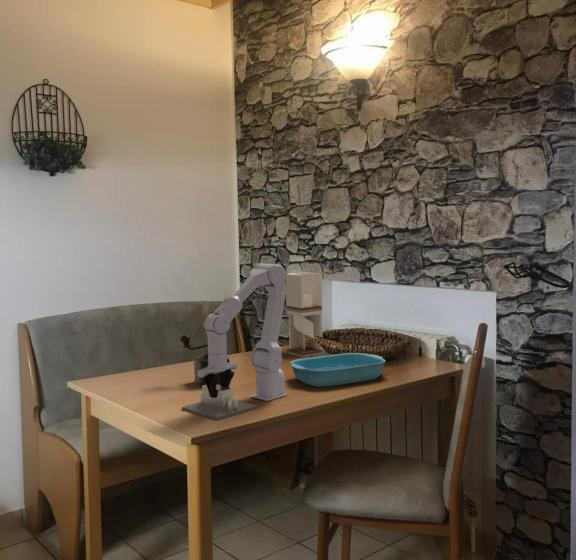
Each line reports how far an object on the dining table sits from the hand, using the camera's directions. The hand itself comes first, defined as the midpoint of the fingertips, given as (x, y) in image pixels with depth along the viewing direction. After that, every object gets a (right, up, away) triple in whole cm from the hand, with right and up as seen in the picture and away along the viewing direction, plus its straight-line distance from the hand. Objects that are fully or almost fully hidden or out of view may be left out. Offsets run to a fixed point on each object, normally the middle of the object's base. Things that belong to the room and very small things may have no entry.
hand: (218, 395), depth 199 cm
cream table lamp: (+29, +4, +79) cm, 84 cm away
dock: (0, -4, 0) cm, 4 cm away
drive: (0, -3, +1) cm, 3 cm away
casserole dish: (+40, -1, +35) cm, 53 cm away
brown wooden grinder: (-8, -2, +32) cm, 33 cm away
